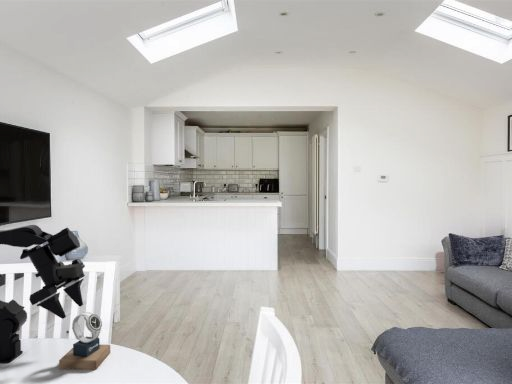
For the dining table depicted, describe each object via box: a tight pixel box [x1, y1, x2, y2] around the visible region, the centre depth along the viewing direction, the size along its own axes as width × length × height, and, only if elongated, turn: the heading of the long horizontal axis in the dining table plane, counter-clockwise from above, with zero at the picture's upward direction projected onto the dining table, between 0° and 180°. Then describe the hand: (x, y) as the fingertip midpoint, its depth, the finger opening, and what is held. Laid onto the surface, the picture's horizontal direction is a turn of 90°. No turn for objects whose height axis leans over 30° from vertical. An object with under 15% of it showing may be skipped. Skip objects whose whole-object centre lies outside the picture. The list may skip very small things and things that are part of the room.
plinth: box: [58, 344, 111, 371], centre depth 111 cm, size 10×10×2 cm
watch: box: [71, 311, 103, 357], centre depth 110 cm, size 6×8×11 cm
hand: (73, 311), depth 114 cm, fingers open, 9 cm apart
